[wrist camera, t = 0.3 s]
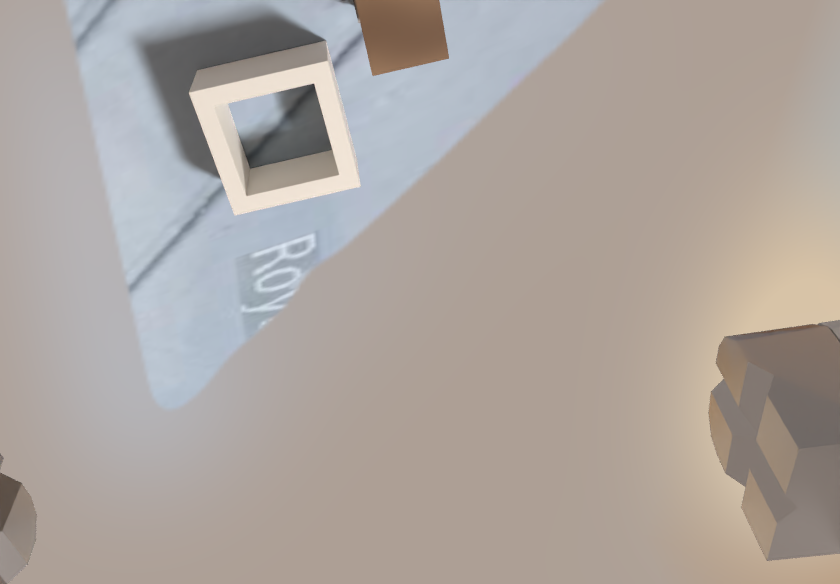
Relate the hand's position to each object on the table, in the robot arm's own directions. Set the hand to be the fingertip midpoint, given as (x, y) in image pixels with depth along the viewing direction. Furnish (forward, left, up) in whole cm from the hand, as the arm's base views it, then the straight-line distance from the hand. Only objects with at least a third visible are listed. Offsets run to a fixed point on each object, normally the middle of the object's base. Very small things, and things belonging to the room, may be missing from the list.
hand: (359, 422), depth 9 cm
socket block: (+13, -6, -46) cm, 49 cm away
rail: (+5, +3, -46) cm, 47 cm away
